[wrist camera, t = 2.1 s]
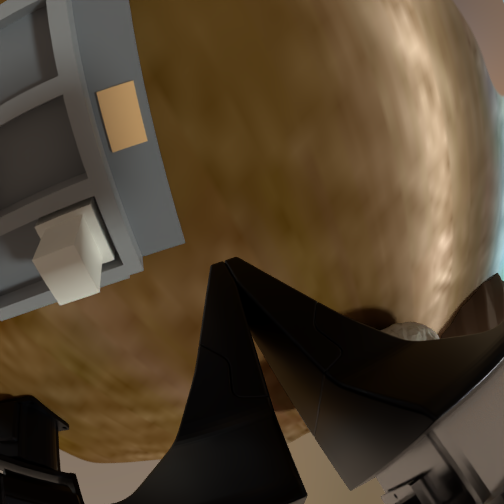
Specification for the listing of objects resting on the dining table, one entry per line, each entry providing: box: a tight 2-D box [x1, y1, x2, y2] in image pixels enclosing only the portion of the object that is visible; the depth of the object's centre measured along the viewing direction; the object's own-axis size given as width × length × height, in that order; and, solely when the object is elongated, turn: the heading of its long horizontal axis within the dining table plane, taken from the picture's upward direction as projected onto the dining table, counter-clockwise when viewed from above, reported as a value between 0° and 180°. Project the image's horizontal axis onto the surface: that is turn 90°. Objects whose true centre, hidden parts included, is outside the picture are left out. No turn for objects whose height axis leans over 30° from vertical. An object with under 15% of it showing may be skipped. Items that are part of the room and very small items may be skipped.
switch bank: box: [0, 0, 185, 321], centre depth 10 cm, size 14×15×3 cm
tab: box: [32, 196, 115, 305], centre depth 11 cm, size 3×3×4 cm
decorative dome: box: [441, 273, 504, 339], centre depth 42 cm, size 19×20×10 cm
